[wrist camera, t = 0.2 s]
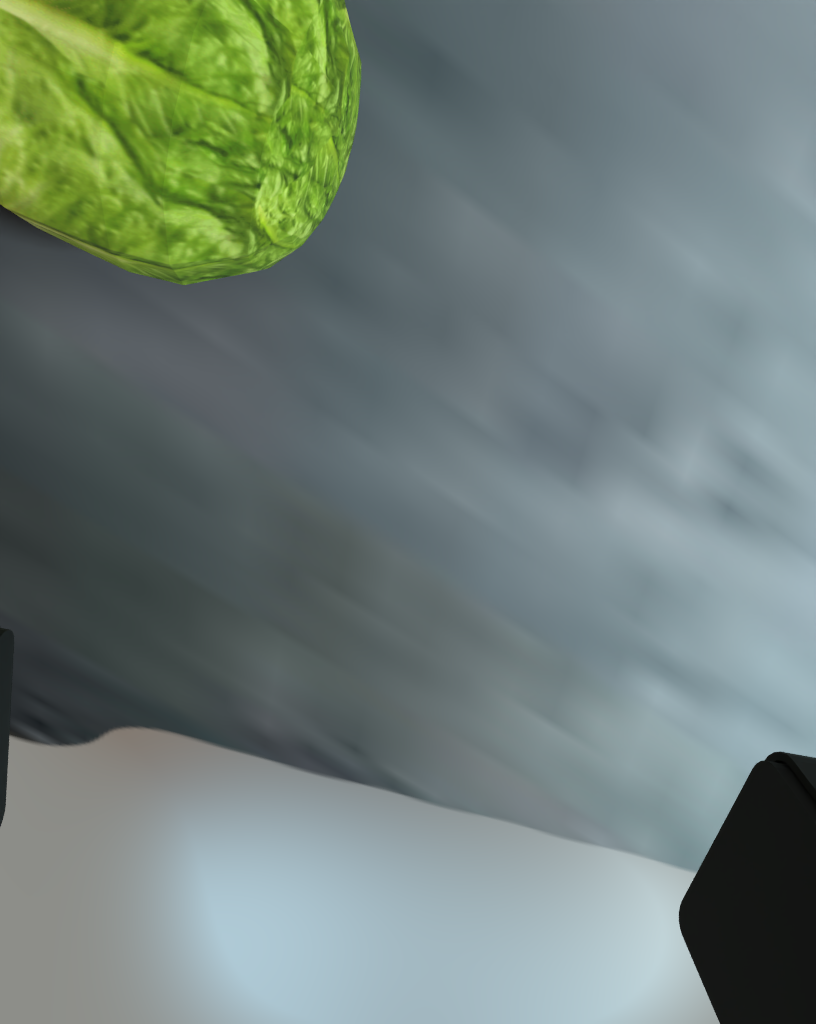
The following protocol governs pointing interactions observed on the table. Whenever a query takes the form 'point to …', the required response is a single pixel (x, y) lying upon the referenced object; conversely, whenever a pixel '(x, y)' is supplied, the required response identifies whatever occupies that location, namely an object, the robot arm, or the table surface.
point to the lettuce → (176, 127)
